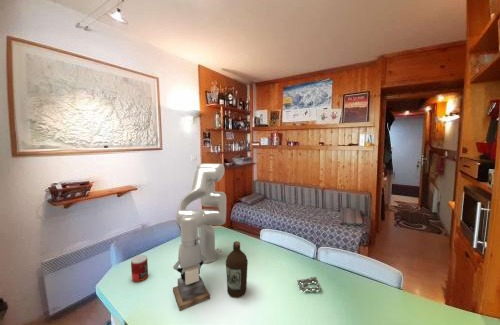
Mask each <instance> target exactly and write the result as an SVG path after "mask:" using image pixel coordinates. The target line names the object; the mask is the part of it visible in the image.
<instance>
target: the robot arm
mask: <svg viewBox="0 0 500 325" xmlns="http://www.w3.org/2000/svg"><path fill="white" fill-rule="evenodd" d="M225 170H226V169H225V165H224V164H222V163H210V162H209V163H206V162H205V163H203V162H202V163H199V164H198V165H197V166H196V170H195V172H194V176H193V177H194V178H193V182H192V186H191V189H190V191H189V192H188V193H187V194H185V195H184V197H183V198H182V199H180V202H179V205H178V208H177V213H176V216H175V218H176V219H175V220H176V223H177V224H178V225H180V240H181V241H180V242H181V243H180V244H179V247H178V255H177V256H178V257H177V258H178V260H177V261H176V262H175V264H174V265H173V267H172V268H173V270H175V271H177V272H178V273H180V278H181V279H183V281H184V282H185V273H184V271H185V268H186V267H189V266H193V265H197V267H198V268H199V275H200V274H201V268H202V266H203V264H211V263H214V262H216V260H217V259H218V254H220V253H223V249H222V248H221V249H219V248H216V241H215V240H216V232H215V228H214V226H222V225H224V224H226V219H227V194H226V193H225V192H224V191H216V182H217V183H219V182H220V181H221V180H222V178H223V176H224V174H225ZM199 199H200V204H201V206H202V207H206V208H202V209H187V208H188V206H189V205H190V204H191V203H192V202H194V201H196V200H199ZM207 207H208V208H207ZM210 207H211V208H210ZM198 232H199V234H198ZM179 266H180V267H179Z"/></svg>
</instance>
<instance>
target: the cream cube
mask: <svg viewBox="0 0 500 325" xmlns="http://www.w3.org/2000/svg"><path fill="white" fill-rule="evenodd" d="M184 273H185V284H186V285H188V284H191V283H194V282H197V281H199V275H200V274H199V268H198V267H197V265H193V266H189V267H186V268H185V271H184Z"/></svg>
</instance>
